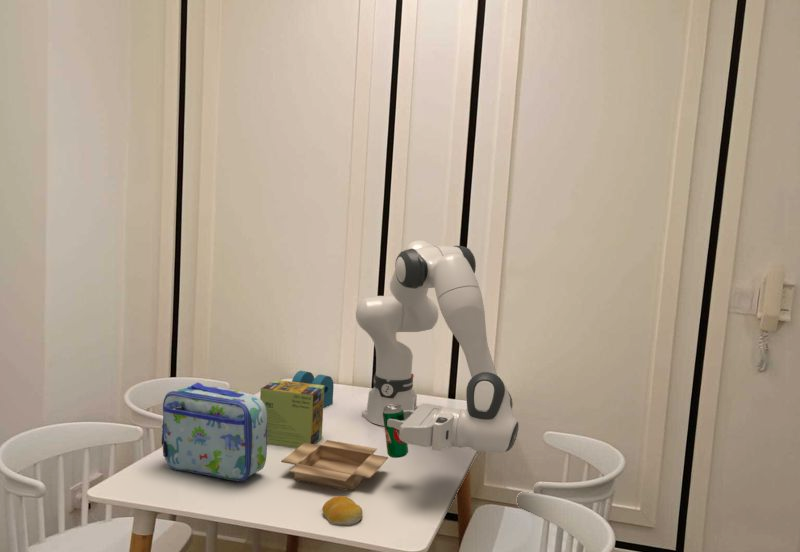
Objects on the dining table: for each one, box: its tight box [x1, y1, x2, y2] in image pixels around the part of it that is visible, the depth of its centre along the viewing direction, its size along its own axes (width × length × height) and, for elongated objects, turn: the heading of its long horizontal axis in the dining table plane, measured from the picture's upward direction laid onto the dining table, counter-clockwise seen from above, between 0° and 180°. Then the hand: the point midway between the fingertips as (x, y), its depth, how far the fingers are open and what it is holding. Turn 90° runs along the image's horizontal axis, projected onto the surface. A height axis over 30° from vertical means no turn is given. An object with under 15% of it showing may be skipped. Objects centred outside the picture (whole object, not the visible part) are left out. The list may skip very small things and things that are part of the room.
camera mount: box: [291, 370, 335, 409], centre depth 231 cm, size 18×10×10 cm, turn 153°
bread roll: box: [321, 495, 363, 526], centre depth 157 cm, size 8×9×4 cm
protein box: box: [259, 379, 324, 449], centre depth 201 cm, size 10×15×16 cm
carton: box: [280, 439, 389, 492], centre depth 179 cm, size 23×23×4 cm
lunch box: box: [161, 382, 268, 482], centre depth 176 cm, size 26×11×21 cm, turn 68°
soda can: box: [383, 404, 409, 459], centre depth 174 cm, size 5×5×12 cm
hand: (391, 417), depth 174 cm, fingers closed on soda can, 5 cm apart
